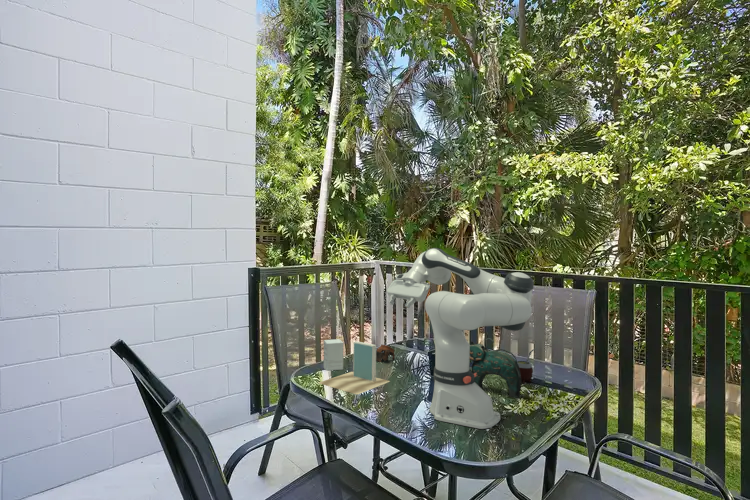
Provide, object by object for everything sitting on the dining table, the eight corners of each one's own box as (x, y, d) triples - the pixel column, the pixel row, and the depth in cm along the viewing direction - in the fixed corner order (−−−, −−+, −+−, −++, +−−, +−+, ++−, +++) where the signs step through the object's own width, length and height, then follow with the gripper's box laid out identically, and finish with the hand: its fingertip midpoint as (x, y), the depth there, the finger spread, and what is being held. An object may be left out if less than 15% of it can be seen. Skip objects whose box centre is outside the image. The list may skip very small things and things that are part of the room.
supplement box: (339, 367, 189) (339, 338, 189) (343, 371, 182) (343, 342, 182) (323, 368, 187) (323, 339, 187) (326, 373, 180) (327, 343, 180)
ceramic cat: (465, 388, 163) (466, 336, 163) (472, 384, 168) (473, 333, 168) (517, 400, 151) (518, 344, 151) (523, 395, 156) (524, 341, 156)
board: (390, 383, 167) (390, 381, 167) (357, 397, 151) (357, 394, 151) (352, 373, 179) (352, 371, 179) (317, 385, 163) (317, 382, 163)
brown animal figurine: (370, 359, 205) (377, 343, 208) (387, 367, 206) (394, 351, 209) (376, 359, 194) (383, 342, 197) (394, 367, 195) (401, 351, 198)
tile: (375, 380, 168) (376, 345, 168) (372, 381, 166) (372, 345, 166) (356, 375, 174) (356, 341, 174) (353, 376, 172) (353, 342, 172)
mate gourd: (513, 378, 176) (513, 342, 176) (533, 380, 174) (533, 343, 174) (515, 384, 169) (515, 346, 169) (536, 386, 167) (536, 348, 167)
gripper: (435, 288, 184) (420, 313, 178) (400, 283, 199) (385, 306, 192) (428, 278, 181) (413, 304, 174) (394, 274, 195) (378, 298, 189)
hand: (398, 305), depth 183 cm, fingers open, 8 cm apart
